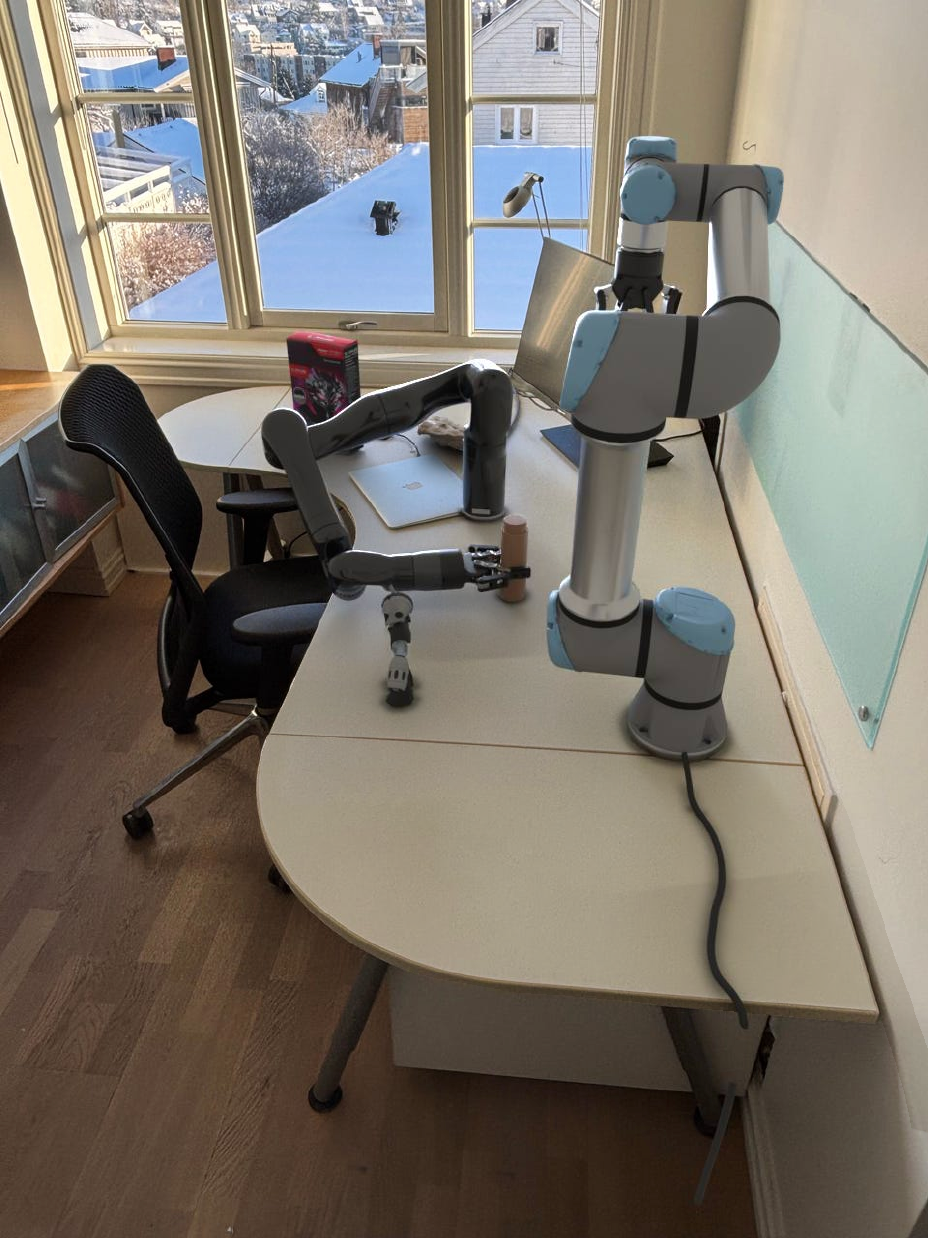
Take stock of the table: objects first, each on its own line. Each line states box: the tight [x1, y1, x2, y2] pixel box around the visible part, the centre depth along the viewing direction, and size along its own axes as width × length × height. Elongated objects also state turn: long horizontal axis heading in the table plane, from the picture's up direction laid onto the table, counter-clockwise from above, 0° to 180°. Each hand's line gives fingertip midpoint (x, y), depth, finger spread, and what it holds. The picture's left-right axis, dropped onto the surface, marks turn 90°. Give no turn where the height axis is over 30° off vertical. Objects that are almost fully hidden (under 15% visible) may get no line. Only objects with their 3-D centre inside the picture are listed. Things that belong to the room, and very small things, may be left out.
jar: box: [498, 514, 529, 603], centre depth 171 cm, size 5×5×16 cm
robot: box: [380, 581, 415, 709], centre depth 145 cm, size 20×5×20 cm, turn 3°
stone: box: [416, 415, 464, 452], centre depth 232 cm, size 21×15×6 cm
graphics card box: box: [285, 330, 365, 456], centre depth 225 cm, size 17×7×27 cm, turn 62°
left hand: (526, 564), depth 172 cm, fingers closed on jar, 5 cm apart
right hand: (625, 389), depth 158 cm, fingers closed on lid, 6 cm apart
